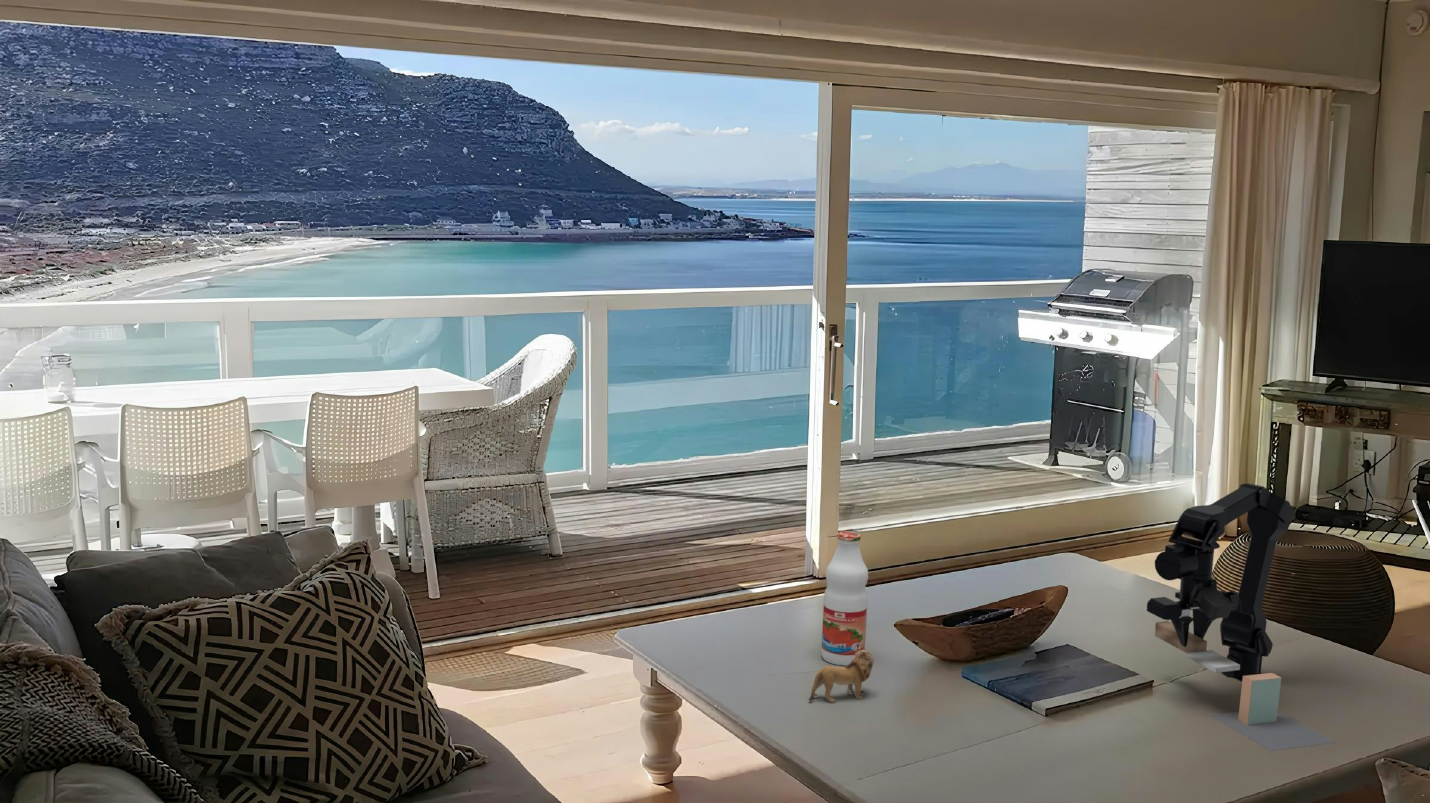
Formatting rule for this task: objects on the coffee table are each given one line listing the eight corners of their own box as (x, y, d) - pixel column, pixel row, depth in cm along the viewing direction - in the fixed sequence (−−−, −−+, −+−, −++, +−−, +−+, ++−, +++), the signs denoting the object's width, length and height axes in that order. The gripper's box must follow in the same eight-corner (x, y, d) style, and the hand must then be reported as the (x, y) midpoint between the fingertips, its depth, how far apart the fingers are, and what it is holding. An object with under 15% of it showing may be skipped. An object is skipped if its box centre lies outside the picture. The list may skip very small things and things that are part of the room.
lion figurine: (862, 686, 236) (864, 644, 235) (878, 696, 232) (880, 653, 230) (801, 698, 229) (803, 655, 228) (816, 708, 225) (818, 664, 223)
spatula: (1149, 636, 243) (1150, 622, 243) (1171, 633, 245) (1173, 620, 244) (1215, 672, 224) (1217, 658, 224) (1239, 669, 226) (1241, 655, 225)
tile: (1267, 716, 227) (1272, 672, 225) (1276, 721, 224) (1281, 677, 223) (1238, 719, 225) (1242, 675, 223) (1247, 725, 222) (1252, 680, 221)
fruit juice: (870, 655, 253) (877, 532, 249) (855, 669, 245) (862, 541, 241) (830, 647, 258) (836, 525, 253) (814, 660, 249) (820, 535, 245)
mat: (1270, 710, 231) (1271, 707, 231) (1335, 744, 216) (1335, 742, 216) (1209, 717, 227) (1209, 714, 227) (1270, 753, 212) (1270, 750, 211)
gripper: (1185, 588, 222) (1179, 664, 225) (1264, 579, 228) (1257, 654, 230) (1147, 570, 233) (1142, 644, 235) (1223, 563, 238) (1217, 635, 241)
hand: (1190, 645), depth 235 cm, fingers closed on spatula, 3 cm apart
